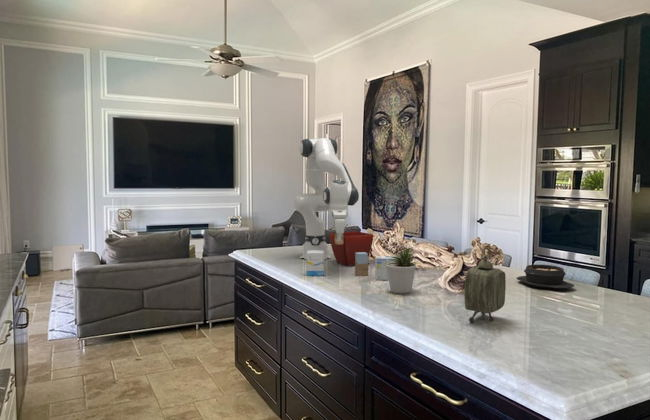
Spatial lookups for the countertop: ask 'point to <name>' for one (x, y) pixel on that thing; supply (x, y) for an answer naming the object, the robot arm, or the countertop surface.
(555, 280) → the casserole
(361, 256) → the tower top
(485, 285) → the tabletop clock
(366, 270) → the tower base
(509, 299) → the countertop surface
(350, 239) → the plant pot
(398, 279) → the potted plant
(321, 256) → the ink box
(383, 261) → the light bulb box
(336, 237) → the brown cylinder
